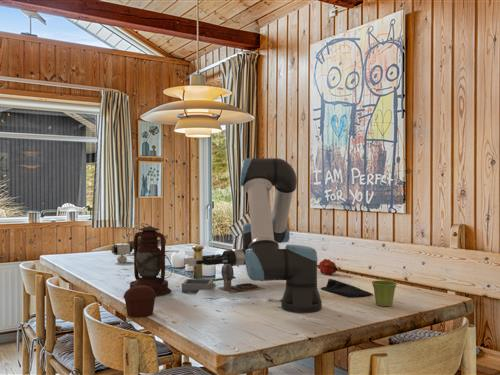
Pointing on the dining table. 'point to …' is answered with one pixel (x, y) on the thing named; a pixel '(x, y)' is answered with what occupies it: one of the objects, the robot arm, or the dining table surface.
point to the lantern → (150, 261)
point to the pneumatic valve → (121, 251)
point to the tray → (196, 284)
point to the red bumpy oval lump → (327, 267)
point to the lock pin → (197, 255)
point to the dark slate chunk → (344, 289)
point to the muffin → (140, 301)
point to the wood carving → (140, 239)
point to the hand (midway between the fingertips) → (186, 262)
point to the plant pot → (384, 292)
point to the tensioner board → (228, 276)
